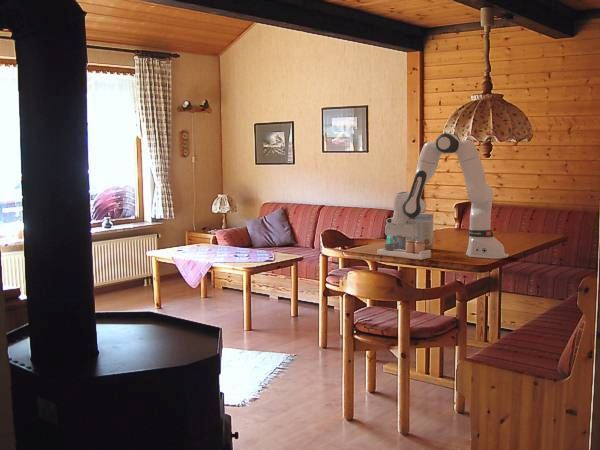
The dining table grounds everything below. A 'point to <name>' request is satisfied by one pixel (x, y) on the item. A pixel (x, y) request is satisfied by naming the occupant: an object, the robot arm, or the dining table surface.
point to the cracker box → (424, 229)
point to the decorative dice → (390, 239)
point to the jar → (410, 246)
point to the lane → (405, 254)
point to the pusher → (392, 246)
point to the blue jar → (401, 242)
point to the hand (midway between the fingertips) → (400, 244)
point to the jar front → (418, 247)
